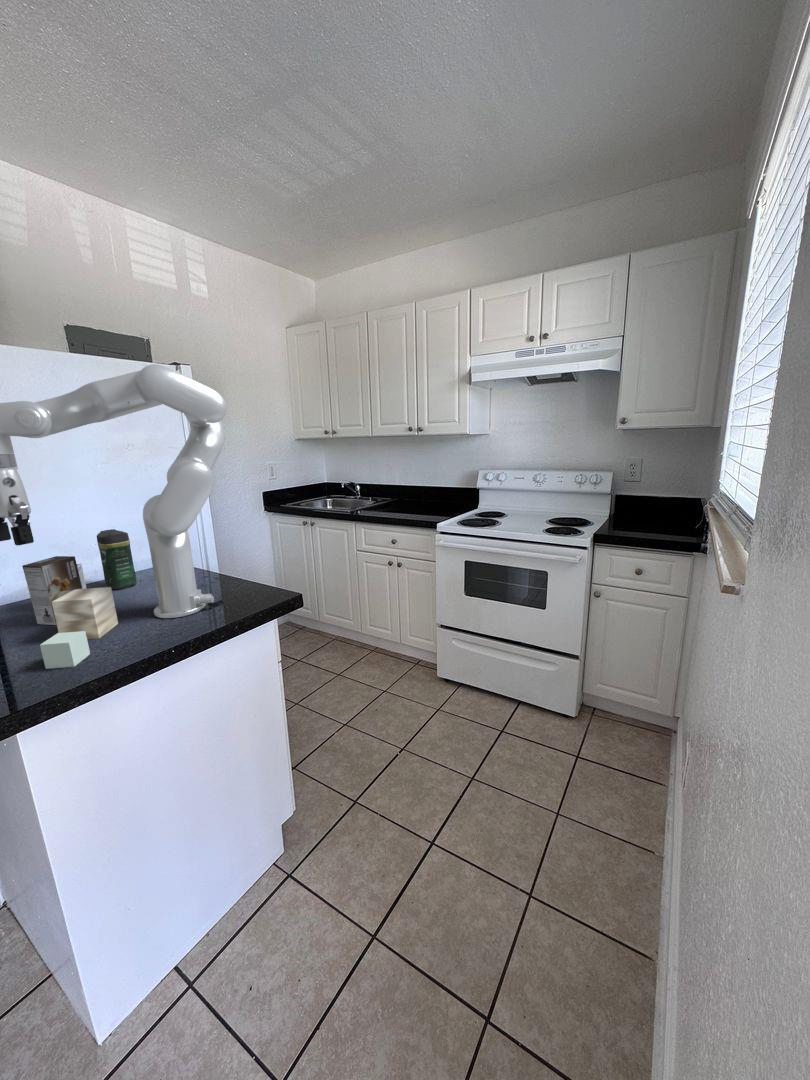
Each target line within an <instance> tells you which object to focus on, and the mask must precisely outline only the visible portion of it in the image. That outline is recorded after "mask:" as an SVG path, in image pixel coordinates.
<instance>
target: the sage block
mask: <svg viewBox="0 0 810 1080" xmlns="http://www.w3.org/2000/svg"><path fill="white" fill-rule="evenodd" d="M39 647H40V652H41V655H42V659H43V663H44V667H45V669H46V670H47V669H49V670H50V669H60V668H61V669H62V668H72V667H76V666H77V665H78V664H80V663H81V662H82V661H83V660H84V659H86V658H87V657H89V656H90V654H91V652H90V651H91V650H90V647H89V642H88V639H87V637H86V632H85V631H79V632H65V633H59V632H57V633H55V634H54V635H52V636H51V637H50V638H48V639H47V640H45V641H43V642H42V643H41V644H39Z"/></svg>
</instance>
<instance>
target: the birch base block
mask: <svg viewBox="0 0 810 1080" xmlns="http://www.w3.org/2000/svg"><path fill="white" fill-rule="evenodd" d="M56 623H57V625H56V626H57V627H56V628H57V631H58V632H57V633H65V632H79V631H85V632H86V637H87V640H93V639H94V640H95V639H100V638H102V637H103V636H105V635H106V634H107V633H108V632H110V631H111V630H112V629H113V628H115V627H116V626H117V625H119V621H118V615H117V610H116V606H114V607H112V608H111V609H109V610H108V611H106V612H105V613H104V614H102V615H101V616H99V617H98V618H96V619H90V620H77V621H63V622H56Z"/></svg>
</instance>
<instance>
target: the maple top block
mask: <svg viewBox="0 0 810 1080" xmlns="http://www.w3.org/2000/svg"><path fill="white" fill-rule="evenodd" d="M52 606H53V610H54V614H55V619H56V622H63V621H77V620H90V619H96V618H98V617H99V616H101V615H102V614H104V613H105V612H106V611H108V610H109V609H111V608H112V607H114V606H115V600H114V595H113V589H111V587H107V586H105V587H93V588H90V587H89V588H87V589H75V590H73V591H71V592H69V593H67V594H65V595H63V596H62V597H60V598H58V599H56V600H54V601H52ZM115 607H116V606H115Z"/></svg>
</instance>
